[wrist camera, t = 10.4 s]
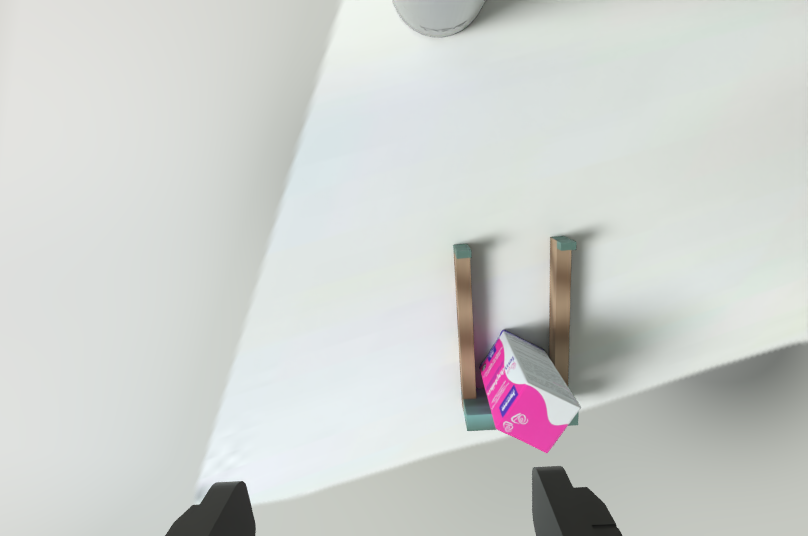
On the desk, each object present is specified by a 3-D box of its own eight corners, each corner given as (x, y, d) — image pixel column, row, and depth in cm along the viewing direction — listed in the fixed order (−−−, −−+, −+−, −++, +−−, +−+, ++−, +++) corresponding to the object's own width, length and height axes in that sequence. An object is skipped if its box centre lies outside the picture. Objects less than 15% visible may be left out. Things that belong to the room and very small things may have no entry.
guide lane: (453, 244, 42) (458, 255, 37) (564, 236, 42) (583, 245, 37) (462, 403, 47) (467, 431, 43) (561, 398, 47) (578, 425, 42)
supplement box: (500, 327, 45) (528, 380, 34) (544, 349, 45) (586, 408, 34) (476, 367, 46) (495, 430, 35) (518, 387, 47) (550, 456, 36)
